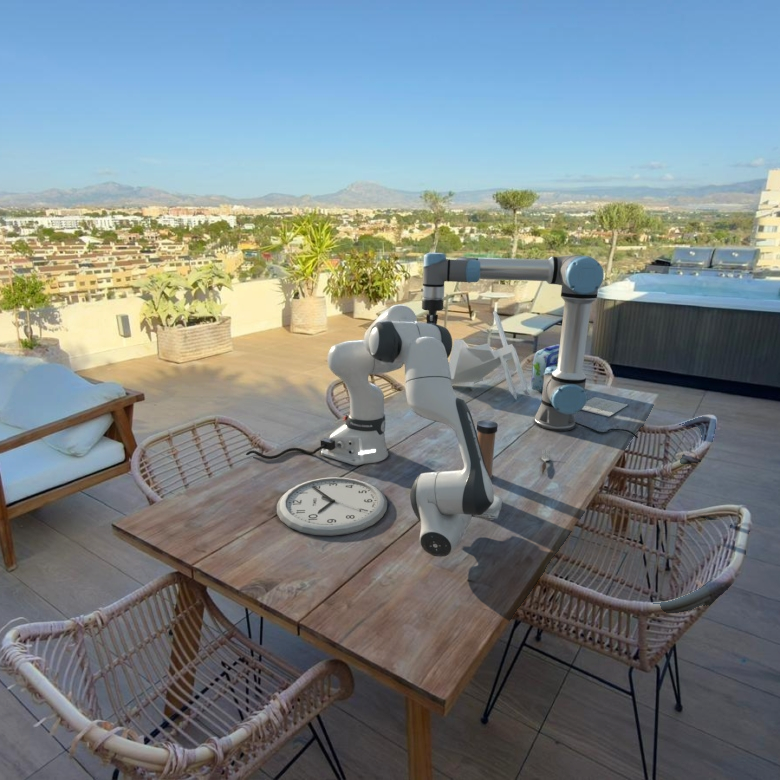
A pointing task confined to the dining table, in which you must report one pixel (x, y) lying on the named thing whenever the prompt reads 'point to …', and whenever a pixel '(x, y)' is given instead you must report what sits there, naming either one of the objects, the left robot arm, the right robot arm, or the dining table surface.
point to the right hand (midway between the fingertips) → (430, 357)
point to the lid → (487, 426)
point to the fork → (545, 460)
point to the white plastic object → (484, 361)
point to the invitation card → (603, 406)
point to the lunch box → (543, 365)
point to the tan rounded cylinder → (487, 449)
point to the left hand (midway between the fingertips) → (467, 486)
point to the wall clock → (331, 506)
